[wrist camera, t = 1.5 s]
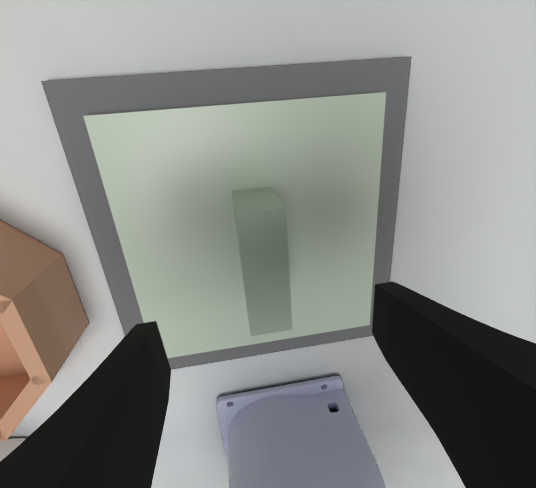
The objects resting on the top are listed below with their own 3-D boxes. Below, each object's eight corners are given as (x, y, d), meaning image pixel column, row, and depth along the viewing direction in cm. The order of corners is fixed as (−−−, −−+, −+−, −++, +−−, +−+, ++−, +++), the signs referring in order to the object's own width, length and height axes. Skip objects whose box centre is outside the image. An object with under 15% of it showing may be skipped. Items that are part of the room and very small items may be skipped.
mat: (405, 58, 15) (411, 56, 15) (381, 329, 22) (384, 333, 22) (47, 82, 14) (41, 80, 13) (139, 369, 20) (138, 375, 20)
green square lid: (380, 92, 15) (440, 84, 11) (365, 319, 21) (402, 371, 17) (88, 115, 14) (32, 116, 10) (156, 353, 19) (139, 419, 15)
